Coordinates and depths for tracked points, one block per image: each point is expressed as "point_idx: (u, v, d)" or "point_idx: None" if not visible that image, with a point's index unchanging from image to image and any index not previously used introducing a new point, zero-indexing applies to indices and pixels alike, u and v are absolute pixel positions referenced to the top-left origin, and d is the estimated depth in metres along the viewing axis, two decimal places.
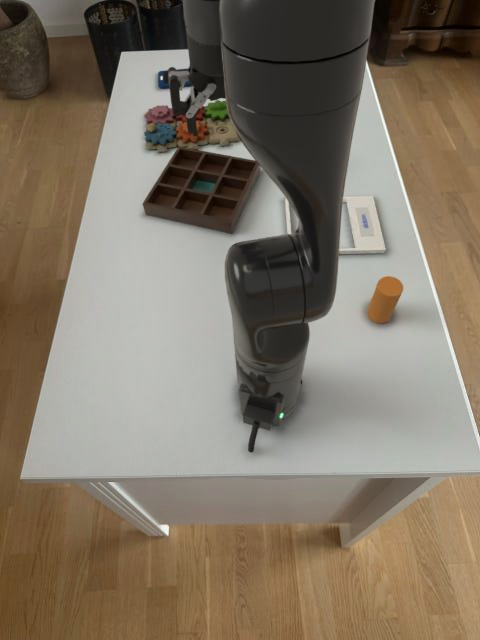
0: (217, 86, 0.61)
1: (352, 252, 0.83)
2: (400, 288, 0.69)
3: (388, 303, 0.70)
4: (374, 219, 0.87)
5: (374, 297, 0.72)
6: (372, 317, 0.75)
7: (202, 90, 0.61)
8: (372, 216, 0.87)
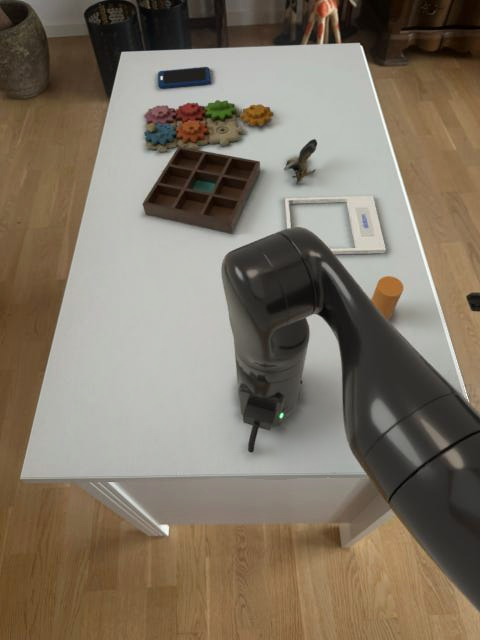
0: None
1: (352, 252, 0.83)
2: (400, 288, 0.69)
3: (388, 303, 0.70)
4: (374, 219, 0.87)
5: (374, 297, 0.72)
6: None
7: None
8: (372, 216, 0.87)
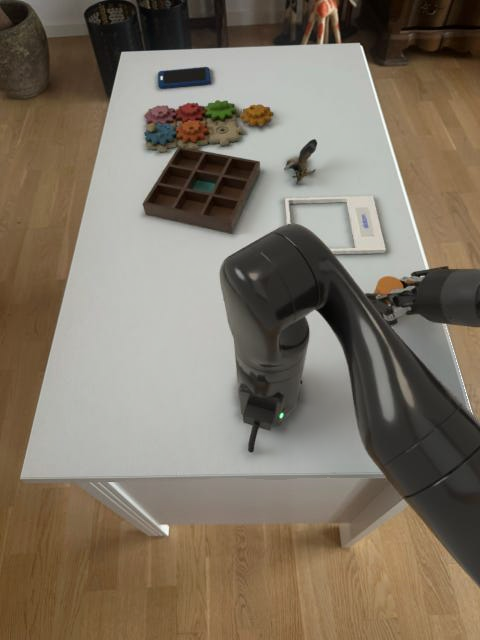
0: None
1: (352, 252, 0.83)
2: (400, 288, 0.69)
3: (388, 303, 0.70)
4: (374, 219, 0.87)
5: None
6: None
7: None
8: (372, 216, 0.87)
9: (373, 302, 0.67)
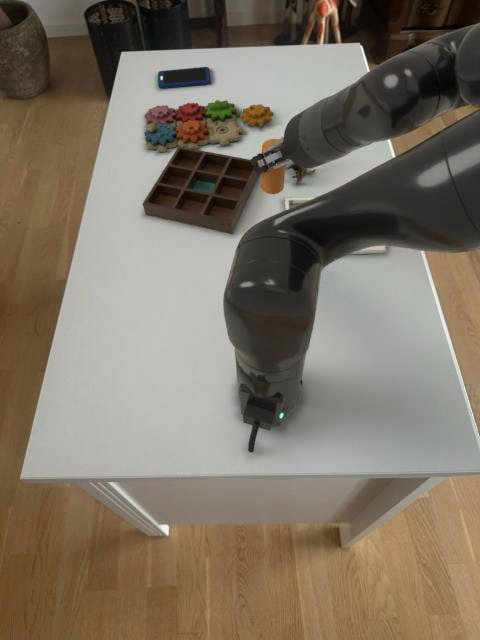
0: None
1: None
2: None
3: None
4: None
5: None
6: (263, 186, 0.75)
7: (284, 162, 0.66)
8: None
9: (253, 157, 0.68)
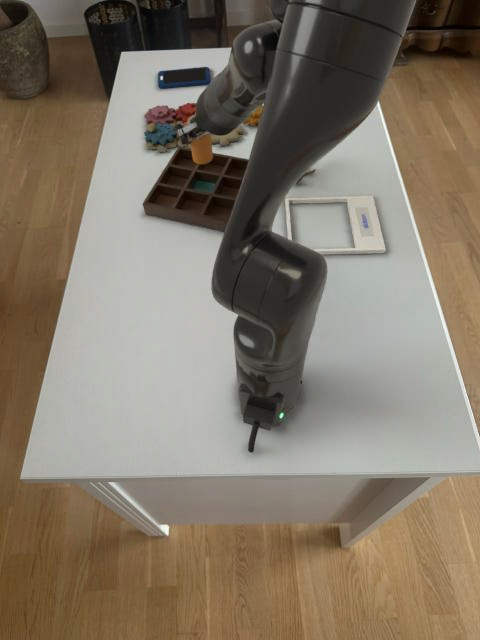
0: None
1: (352, 252, 0.83)
2: None
3: None
4: (374, 219, 0.87)
5: None
6: (194, 158, 0.85)
7: (203, 132, 0.76)
8: (372, 216, 0.87)
9: None
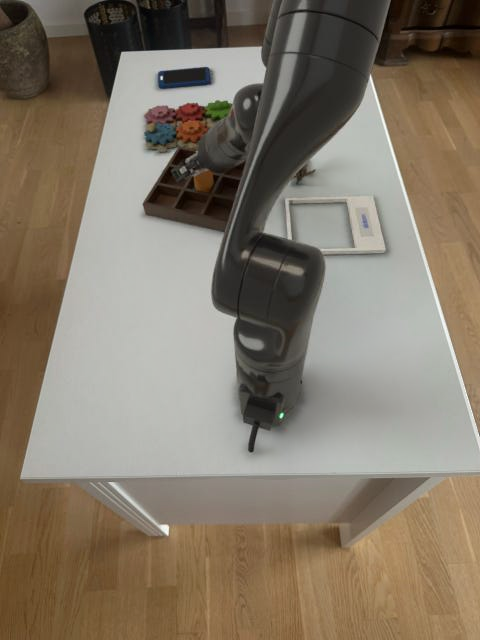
0: None
1: (352, 252, 0.83)
2: None
3: (200, 173, 0.88)
4: (374, 219, 0.87)
5: None
6: None
7: (203, 169, 0.82)
8: (372, 216, 0.87)
9: (173, 168, 0.82)
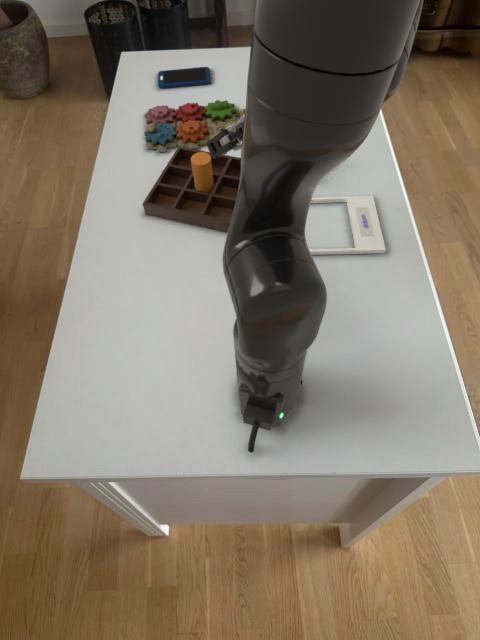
0: None
1: (352, 252, 0.83)
2: (208, 159, 0.87)
3: (200, 173, 0.88)
4: (374, 219, 0.87)
5: (192, 170, 0.89)
6: None
7: None
8: (372, 216, 0.87)
9: (208, 140, 0.64)
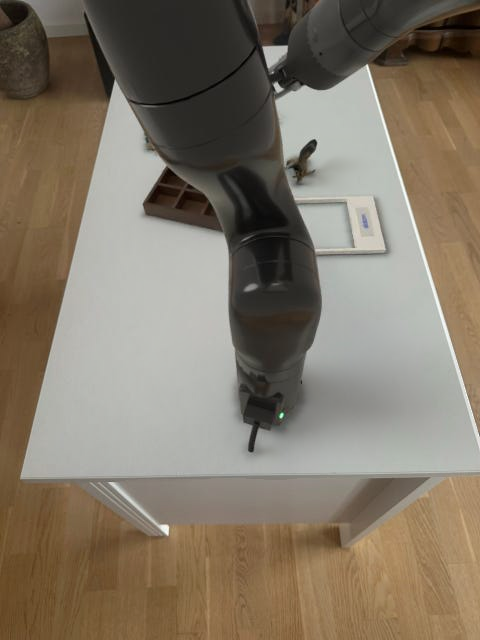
0: None
1: (352, 252, 0.83)
2: None
3: None
4: (374, 219, 0.87)
5: None
6: None
7: (288, 88, 0.52)
8: (372, 216, 0.87)
9: None
